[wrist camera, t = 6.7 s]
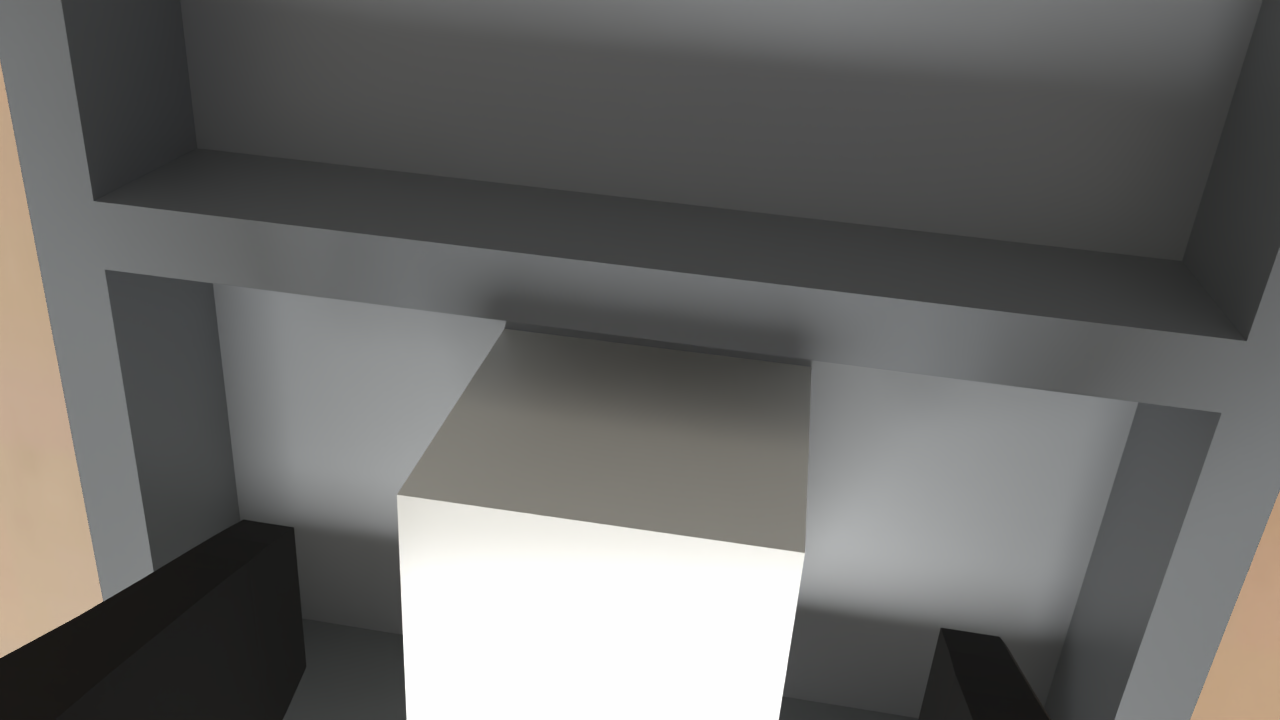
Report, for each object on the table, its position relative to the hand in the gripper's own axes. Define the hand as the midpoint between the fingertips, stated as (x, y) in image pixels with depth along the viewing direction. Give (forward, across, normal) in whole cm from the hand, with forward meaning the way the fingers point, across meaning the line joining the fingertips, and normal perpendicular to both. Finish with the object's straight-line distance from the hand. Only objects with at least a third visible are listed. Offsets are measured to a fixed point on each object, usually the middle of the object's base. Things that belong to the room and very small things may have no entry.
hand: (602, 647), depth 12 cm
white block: (+3, 0, 0) cm, 3 cm away
